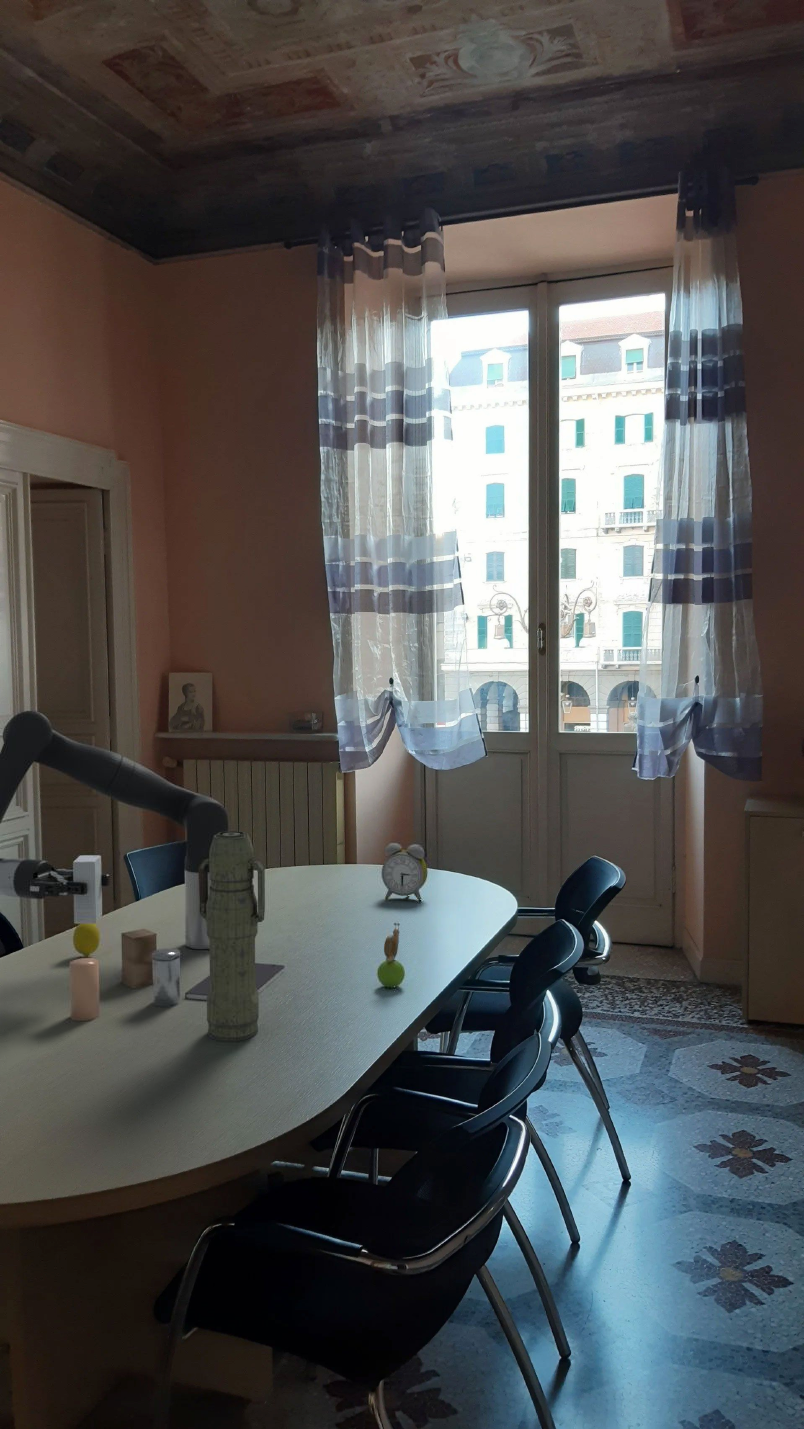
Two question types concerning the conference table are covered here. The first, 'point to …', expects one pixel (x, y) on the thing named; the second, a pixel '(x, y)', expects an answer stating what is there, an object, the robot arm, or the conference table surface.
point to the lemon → (86, 938)
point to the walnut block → (138, 957)
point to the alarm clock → (404, 870)
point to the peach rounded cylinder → (84, 989)
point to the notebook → (262, 980)
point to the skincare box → (88, 889)
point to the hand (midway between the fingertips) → (97, 884)
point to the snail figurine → (391, 962)
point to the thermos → (232, 934)
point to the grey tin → (166, 977)
